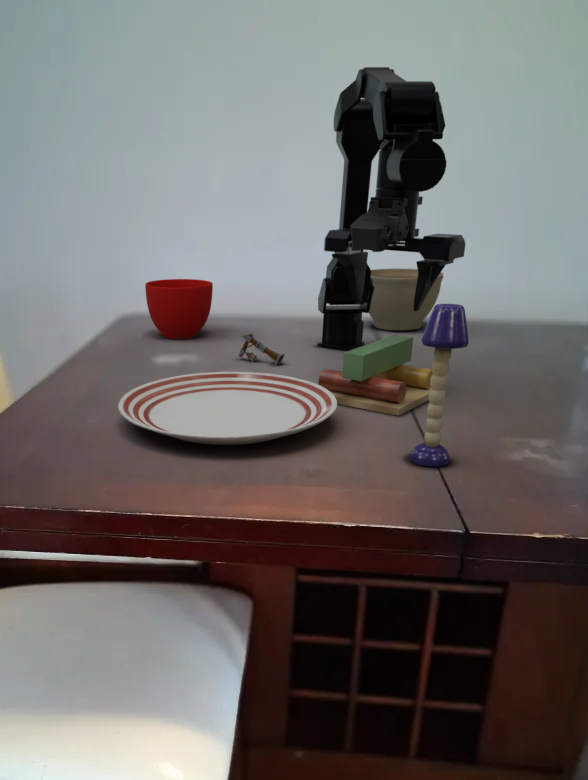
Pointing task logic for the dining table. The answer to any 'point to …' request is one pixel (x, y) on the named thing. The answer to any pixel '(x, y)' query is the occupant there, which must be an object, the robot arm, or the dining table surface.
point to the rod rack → (381, 389)
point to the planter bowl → (399, 299)
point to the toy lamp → (440, 377)
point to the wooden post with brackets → (261, 347)
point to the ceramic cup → (179, 306)
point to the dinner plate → (228, 407)
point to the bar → (377, 357)
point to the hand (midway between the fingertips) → (386, 307)
